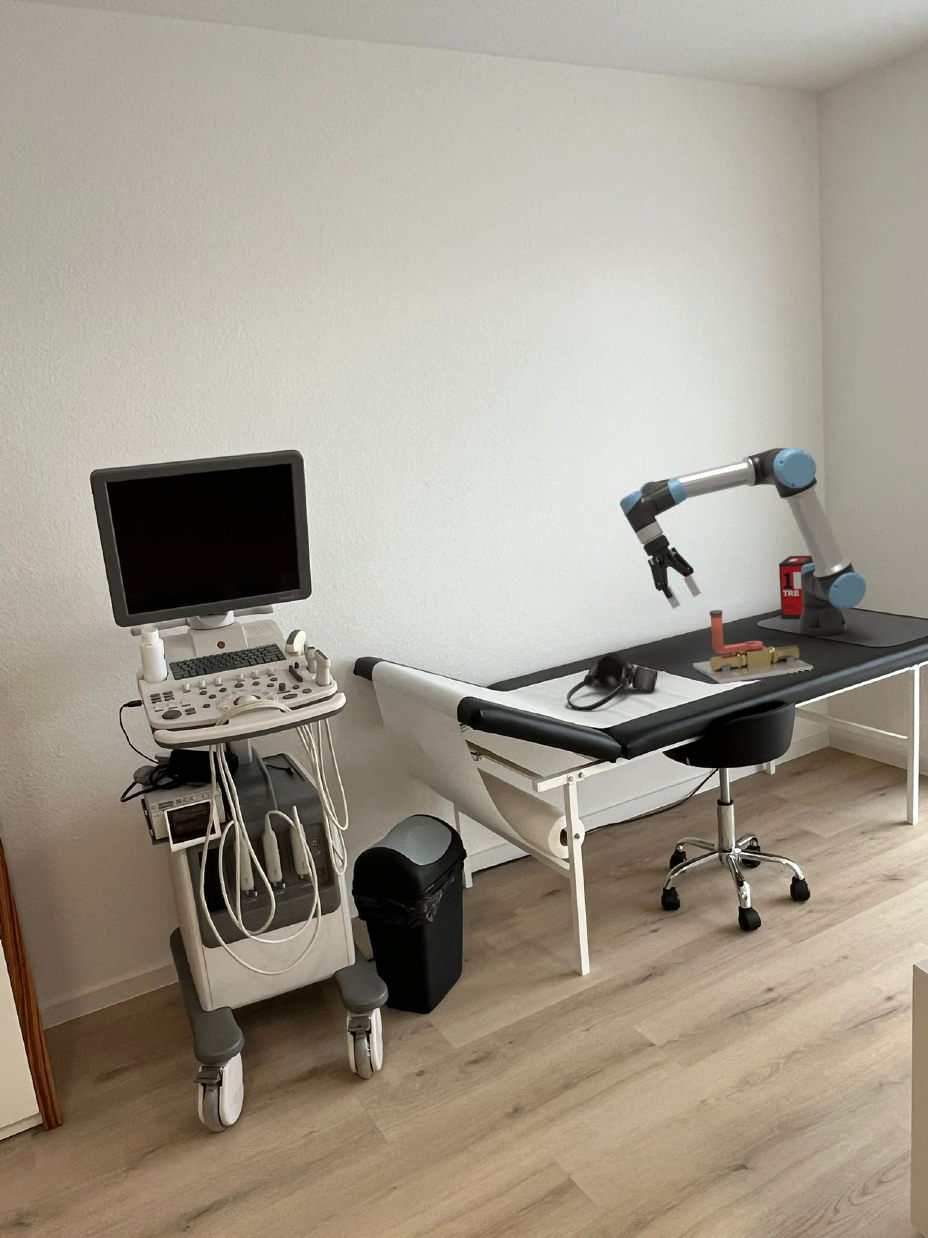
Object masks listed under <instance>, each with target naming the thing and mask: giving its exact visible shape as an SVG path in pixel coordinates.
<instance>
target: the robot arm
mask: <svg viewBox="0 0 928 1238" xmlns="http://www.w3.org/2000/svg"><path fill="white" fill-rule="evenodd" d="M816 472H817V464H816V460H814V457H813V456H812V455H811V454H810V453H809V452H807V451H806V450H803V449H801V448H798V447H788V448H785V447H784V448H783V447H776V448H771V449H767V450H765V451H762V452H759V453H756V454H752V455H749V456H744V457H743V459H742V460H741V461H737V462H733V463H730V464H725V465H720V466H716V467H713V468H708V469H703V470H700V471H695V472H691V473H687V474H682V475H679V476H673V477H670V478H666V479H662V480H658V481H648V482H645V483H643V485H642V486H641V487H640V489H639V490H636V491H633V492H632V493H630V494H628V495H626V496H624V497H623V498H622V499H621V500H620V502H619V506H620V507H621V510H622V512H623V515H624V517H625V518H626V519H627V521H628V523H629V525H630V527H631V528H632V530H633V532H634V533H635V535H636V537H637V539H638V540H639V541H638V542H640V544H641V545H643V550H644V552H645V553H646V555H647V556H648V557H651V558H648V560H647V563H648V565H649V567H650V571H651V576H652V580H653V583H654V588H655V590H657V591H658V592H660V591H662V592H663V594H664V595H665V597H666V599H667V601H668V603H669V604H670V606H671V608H672V609H673V610H674V609H676V608H678V607H680V606H681V605H682V603H681V602H680V600H679V597H678V596H677V594H676V593H675V591H674V589H673V588H672V585H669V580H668V579H669V578H668V567H669V568H672V569H673V570H675V571H676V572H677V573H679V574H680V575H682V577H683V580H684V582H685V584H686V586H687V588H688V589H689V591H690V593H691V595H692V597H693V598H695V597H697V596H699V595H700V594H702V591H701V589H700V587H699V585H698V583H697V582H696V580H695V579H694V576H693V574H694V573H695V572H694V567H692V566H691V564H690V563H689V562H687V560H686V559H685V558H684V557H683V556H682V555H681V554H680V553H679V552H678V550H677V549H676V547H674V546H673V547H671V548H670V549H669V546H670V542H669V541H670V540H669V539H668V538H667V536H666V535H665V534H664V530H663V529H662V527H661V525H660V523H659V521H658V520H657V518H656V517H657V516H659V515H660V514H663V513H665V512H666V511H668V510H670V509H672V508H675V506H677V505H678V506H679V505H680V504H681V503H683V502H684V501H686V500H687V499H691V498H695V497H699V496H704V495H708V494H711V493H716V492H720V491H724V490H725V491H726V490H727V489H728V490H729V489H733V488H738V487H740V486H741V487H742V486H748V487H754V486H761V485H771V486H772V485H773V486H775V489H776V491H777V492H778V496H779V497H780V499H782V500H785V501H787V503H788V505H789V508H790V510H791V512H792V515H793V517H794V520H795V522H796V525H797V526H798V528H799V529H798V530H800V533H801V536H802V539H803V540H804V542H805V546H806V547H807V550H808V552H809V556H811V557H812V560H813V562H814V563H811V564H805V565H803V566H802V569H801V580H802V598H803V611H802V614H801V617H800V619H799V621H798V625H797V626H798V627H797V628H798V630H797V631H798V633H800V634H802V635H806V636H834V635H838V634H842V633H845V632H847V628H848V627H847V626H848V625H847V621H846V618H845V615H844V613H843V611H842V609H843V610H847V609H852V608H855V607H856V606H858V605H859V604H860V603H861V602H862V600H863V599H864V597H865V594H866V592H867V585H866V581H865V579H864V577H863V576H862V575H860V574H858V572H857V573H856V572H855V569H854V566H853V564H852V561H851V560H850V559H849V558H846V557H844V556H843V554H842V551H841V550H840V547H839V545H838V542H837V540H836V538H835V535H834V533H833V530H832V527H831V526H830V523H829V521H828V518H827V516H826V514H825V511H824V509H823V507H822V504H821V501H820V499H819V497H818V495H817V492H816V490H815V489H816V487H817V484H818V481H817V479H816V476H815V475H816Z"/></svg>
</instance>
